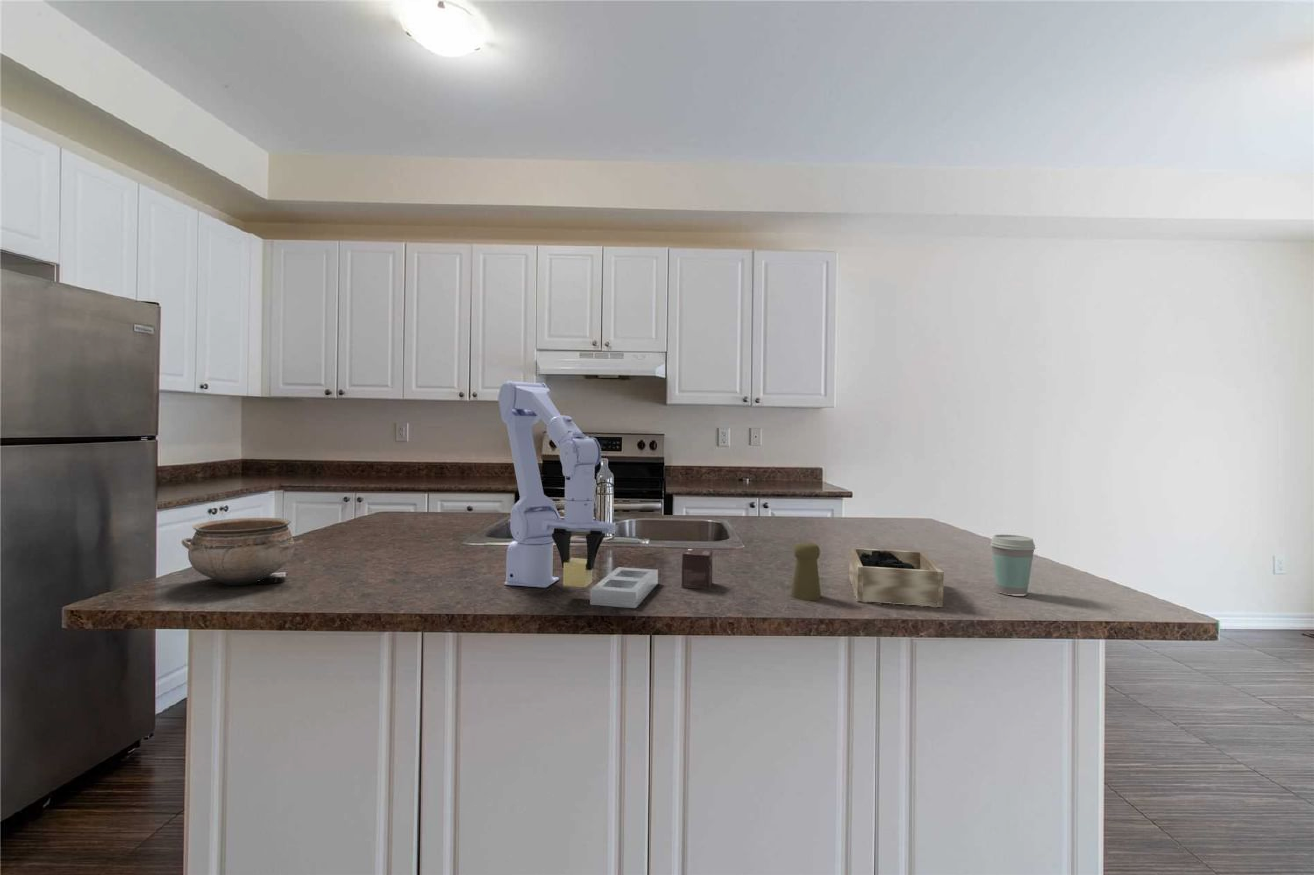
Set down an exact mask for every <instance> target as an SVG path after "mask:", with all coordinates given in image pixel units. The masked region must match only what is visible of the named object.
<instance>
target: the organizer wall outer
mask: <svg viewBox="0 0 1314 875" xmlns="http://www.w3.org/2000/svg"><path fill="white" fill-rule="evenodd" d="M919 552H920V564H919V570H934V571H938V599H937V606H938V607H944V581H945V580H944V576H945V575H944V574H945V573H944V571H943V570H942V569H941V568H940V567H939V566H938V565H937V564H936V563H935V562H934V561H933V560H932V559H931V558H930V556H929V555H927V554H926V553H925V552H924V551H919Z"/></svg>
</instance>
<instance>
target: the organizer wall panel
mask: <svg viewBox="0 0 1314 875" xmlns="http://www.w3.org/2000/svg"><path fill="white" fill-rule="evenodd" d="M855 548H856V547H849V572H848V574H849V576H848V578H849V581H851V582H850V584H852V585H851V587H853V588H852V590H854V591H853V593H855V594H854V596H856V597H855V599H857V600H856V602H857V601H862V600H863V565H862V563H861V561H860V559H859V557H858V555H857V552H856V550H855Z"/></svg>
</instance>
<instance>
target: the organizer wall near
mask: <svg viewBox="0 0 1314 875" xmlns="http://www.w3.org/2000/svg"><path fill="white" fill-rule="evenodd" d="M937 599H938V571H934V570H917V569H901V568H884V567H868V566H863V600H862V601H876V602H891V603H904V604H914V605H925V606H937Z"/></svg>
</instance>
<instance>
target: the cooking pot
mask: <svg viewBox="0 0 1314 875" xmlns="http://www.w3.org/2000/svg"><path fill="white" fill-rule="evenodd" d="M290 523H291V520H290V519H286V518H278V517H241V518H240V517H239V518H229V519H220V520H219V519H218V520H212V521H205V522H199V523H197V524H194V525H192V529H193V530H194V531H195V532H194V534H193V537H192V538H191V537H186V538H183V539H182V540H181V544H182V546H183V547H184V548H186V549H187V550H188V551H187V556H188V561H189V563H190V565H191V567H192V568H193V569H194V570H195V571H196V572H198V573H199V574H200V575H203V576H205V577H207V578H209V579H212V580H214V581H217V582H219V583H222V584H224V585H226V586H243V585H252V584H255V583H258V582H257V581H258V580H261V579H262V580H264V579H265V578H267V577H268V576H270V575H272V574H274V573H276V572H277V571H279V570H280V569H281V568H283V567H284V566H285V565H286V564H287V563H288V562H289V561H290V559H291V558H292V556H293V554H294V551H295V548H297V547H299V546H302V545H303V544H304V540H303V539H300V540H297V541H294V538H293V535H292V532H291V530H290V528H289V526H288V525H289V524H290ZM263 578H264V579H263ZM262 580H261V581H262Z"/></svg>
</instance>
